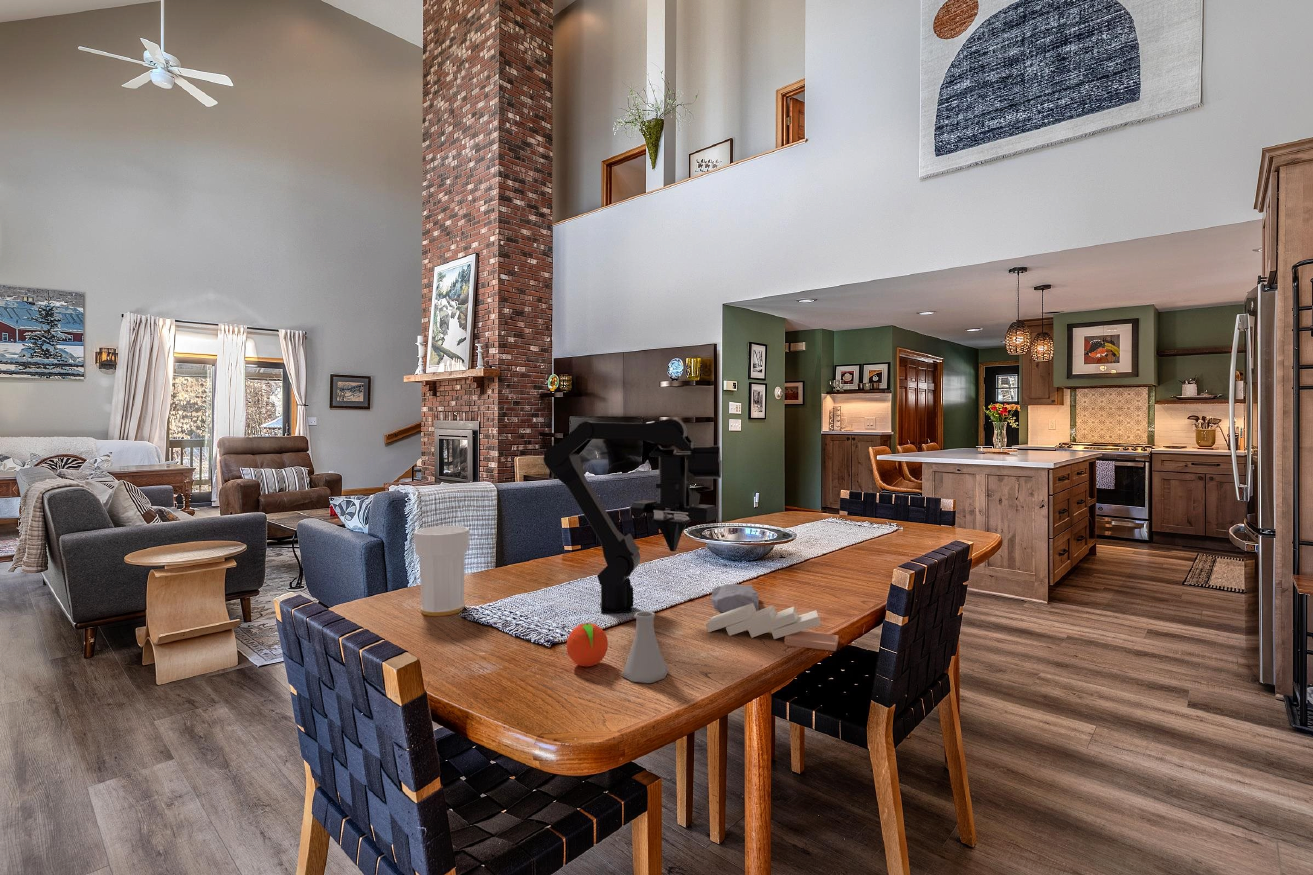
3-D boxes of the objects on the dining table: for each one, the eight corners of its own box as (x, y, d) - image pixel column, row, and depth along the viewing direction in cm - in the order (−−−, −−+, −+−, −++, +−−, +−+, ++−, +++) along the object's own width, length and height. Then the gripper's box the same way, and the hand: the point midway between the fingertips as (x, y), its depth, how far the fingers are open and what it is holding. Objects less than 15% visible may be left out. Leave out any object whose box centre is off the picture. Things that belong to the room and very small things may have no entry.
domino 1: (705, 624, 123) (747, 610, 120) (712, 616, 128) (753, 602, 125) (708, 632, 123) (751, 618, 120) (715, 624, 128) (756, 610, 125)
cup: (469, 600, 145) (468, 524, 144) (471, 614, 134) (470, 532, 134) (416, 605, 141) (415, 527, 141) (414, 620, 131) (412, 536, 130)
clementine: (613, 672, 103) (613, 629, 103) (571, 678, 102) (570, 633, 101) (603, 655, 111) (603, 614, 111) (563, 659, 109) (563, 618, 109)
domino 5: (784, 638, 116) (835, 644, 113) (789, 629, 121) (838, 635, 117) (784, 646, 116) (835, 653, 113) (789, 637, 121) (838, 643, 118)
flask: (652, 688, 98) (651, 623, 97) (613, 678, 102) (613, 616, 101) (675, 672, 104) (675, 611, 103) (638, 663, 108) (638, 604, 107)
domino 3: (748, 629, 119) (792, 613, 117) (751, 622, 124) (794, 606, 122) (751, 637, 119) (796, 621, 117) (754, 629, 124) (797, 613, 122)
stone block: (717, 622, 135) (763, 612, 135) (712, 600, 135) (758, 590, 135) (711, 607, 147) (753, 598, 147) (707, 587, 147) (749, 578, 147)
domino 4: (771, 630, 118) (818, 616, 117) (771, 623, 123) (816, 610, 122) (774, 638, 118) (821, 624, 117) (774, 631, 123) (819, 618, 121)
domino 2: (725, 627, 121) (769, 612, 118) (731, 620, 126) (773, 605, 123) (729, 635, 121) (772, 620, 118) (734, 627, 125) (776, 612, 123)
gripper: (729, 476, 137) (729, 548, 137) (655, 473, 147) (656, 540, 147) (704, 481, 127) (705, 558, 128) (628, 477, 137) (628, 549, 138)
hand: (673, 551), depth 135 cm, fingers closed
